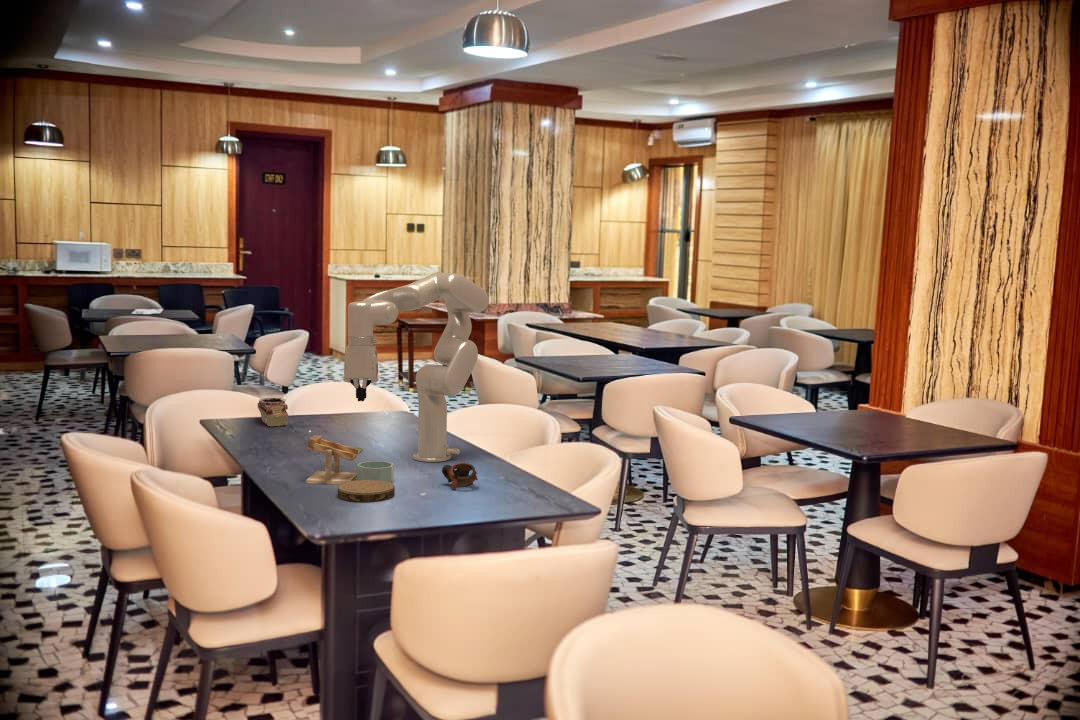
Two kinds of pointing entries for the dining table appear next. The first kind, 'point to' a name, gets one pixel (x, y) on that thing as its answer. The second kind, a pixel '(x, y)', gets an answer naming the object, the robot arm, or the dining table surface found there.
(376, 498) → the wood log slice
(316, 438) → the lever
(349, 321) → the robot arm
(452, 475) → the pottery mug
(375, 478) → the green octagonal bowl
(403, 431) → the dining table surface
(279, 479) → the dining table surface
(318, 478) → the frame
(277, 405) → the decorative box
